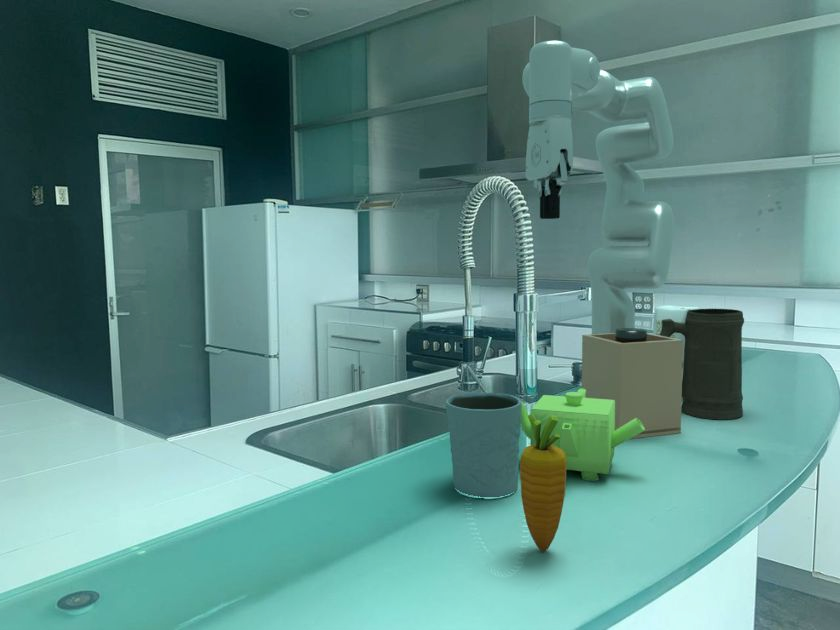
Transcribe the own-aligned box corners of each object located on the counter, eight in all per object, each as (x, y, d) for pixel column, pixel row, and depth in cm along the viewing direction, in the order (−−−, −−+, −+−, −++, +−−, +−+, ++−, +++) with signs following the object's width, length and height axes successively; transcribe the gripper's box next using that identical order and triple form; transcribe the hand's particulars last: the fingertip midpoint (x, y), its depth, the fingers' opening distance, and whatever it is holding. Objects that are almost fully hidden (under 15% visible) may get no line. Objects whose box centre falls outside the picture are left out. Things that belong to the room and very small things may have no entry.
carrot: (514, 541, 70) (514, 408, 69) (558, 539, 71) (559, 406, 69) (525, 564, 65) (526, 420, 64) (573, 561, 66) (574, 418, 64)
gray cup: (504, 507, 79) (504, 413, 78) (433, 493, 84) (431, 404, 83) (532, 480, 88) (532, 395, 87) (465, 469, 93) (465, 388, 92)
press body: (574, 418, 120) (575, 333, 118) (630, 412, 123) (631, 329, 121) (619, 439, 106) (621, 344, 104) (680, 432, 109) (683, 340, 108)
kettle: (502, 461, 97) (502, 388, 95) (577, 447, 103) (578, 378, 101) (565, 495, 83) (566, 410, 82) (647, 477, 89) (649, 398, 88)
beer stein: (734, 405, 127) (730, 305, 125) (757, 420, 116) (753, 310, 114) (654, 410, 128) (649, 311, 126) (669, 424, 118) (664, 317, 116)
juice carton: (663, 389, 142) (665, 304, 140) (703, 395, 136) (705, 306, 134) (647, 395, 136) (649, 306, 134) (688, 401, 130) (690, 309, 128)
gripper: (513, 122, 121) (513, 220, 123) (551, 105, 107) (550, 216, 109) (549, 124, 123) (548, 220, 125) (591, 107, 109) (589, 216, 111)
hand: (549, 218), depth 117 cm, fingers closed
